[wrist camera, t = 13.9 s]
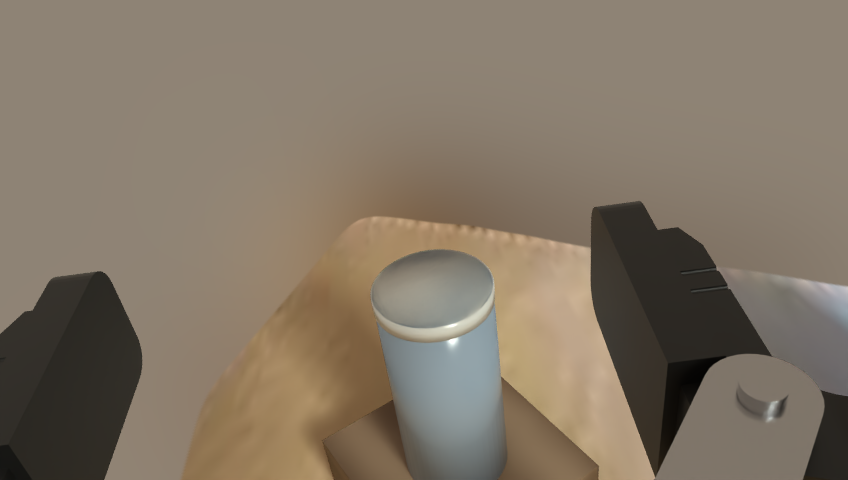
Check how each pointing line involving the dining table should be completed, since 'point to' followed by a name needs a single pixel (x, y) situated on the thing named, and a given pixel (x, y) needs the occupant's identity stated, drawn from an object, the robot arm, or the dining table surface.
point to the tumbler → (443, 363)
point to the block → (525, 433)
